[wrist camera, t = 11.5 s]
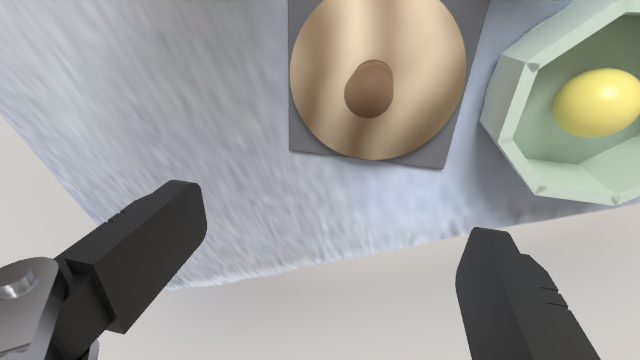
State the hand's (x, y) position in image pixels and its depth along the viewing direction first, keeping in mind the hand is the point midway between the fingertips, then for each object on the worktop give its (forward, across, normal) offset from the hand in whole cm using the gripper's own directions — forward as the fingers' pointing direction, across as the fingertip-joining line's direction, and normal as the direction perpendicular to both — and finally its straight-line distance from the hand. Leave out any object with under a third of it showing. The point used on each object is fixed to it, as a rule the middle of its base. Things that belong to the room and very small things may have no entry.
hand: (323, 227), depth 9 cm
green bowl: (+26, -19, 0) cm, 32 cm away
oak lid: (+25, 0, 0) cm, 25 cm away
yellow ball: (+25, -19, 0) cm, 31 cm away
